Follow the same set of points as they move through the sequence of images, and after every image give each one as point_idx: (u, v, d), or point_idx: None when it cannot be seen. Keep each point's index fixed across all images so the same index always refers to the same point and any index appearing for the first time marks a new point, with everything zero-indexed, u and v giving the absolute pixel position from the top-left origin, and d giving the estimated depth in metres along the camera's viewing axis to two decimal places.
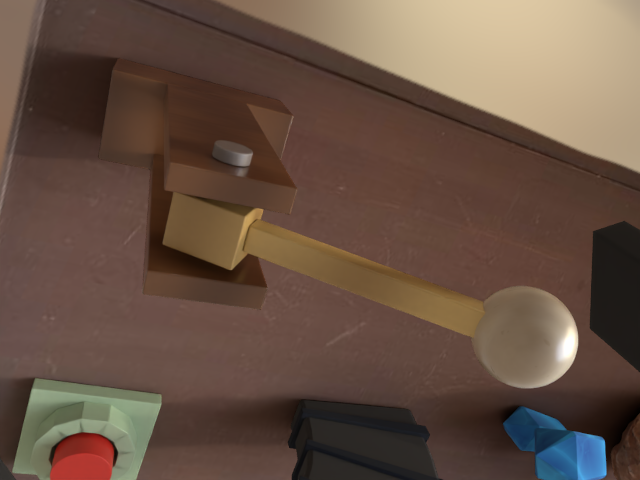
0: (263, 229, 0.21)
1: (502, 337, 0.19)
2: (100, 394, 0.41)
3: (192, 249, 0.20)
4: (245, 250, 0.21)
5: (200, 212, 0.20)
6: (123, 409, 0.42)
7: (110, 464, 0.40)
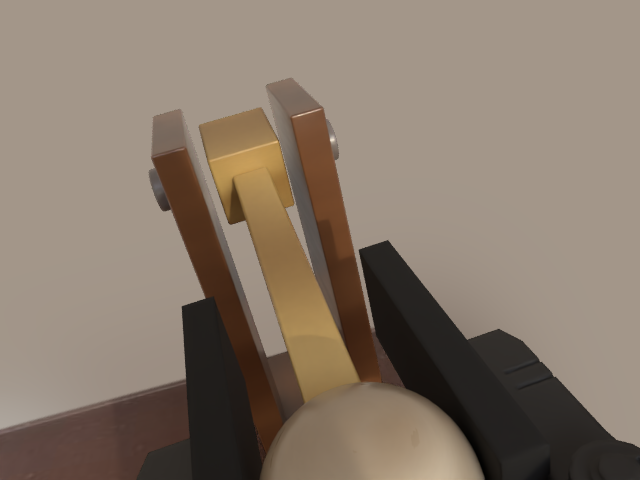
0: (271, 178, 0.17)
1: (356, 387, 0.09)
2: None
3: (210, 135, 0.18)
4: (235, 177, 0.17)
5: (254, 123, 0.18)
6: None
7: None
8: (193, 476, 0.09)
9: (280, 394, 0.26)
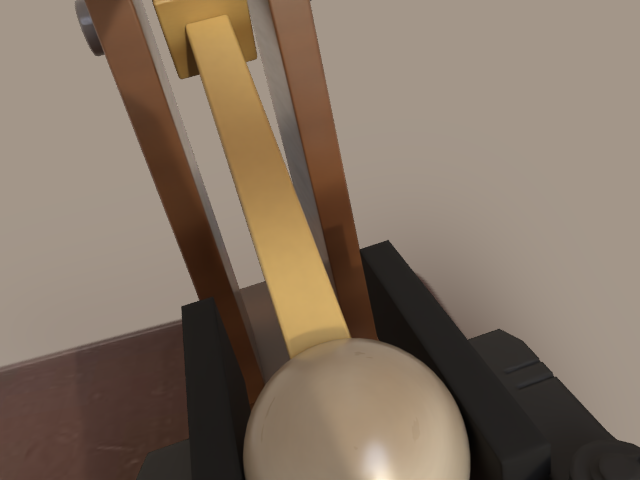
0: (233, 31, 0.14)
1: (351, 358, 0.08)
2: None
3: None
4: (189, 26, 0.14)
5: None
6: None
7: None
8: (192, 476, 0.09)
9: (252, 323, 0.22)
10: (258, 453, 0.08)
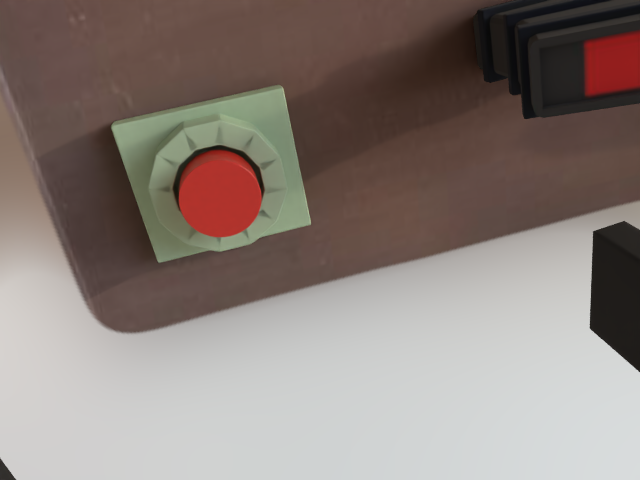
0: None
1: None
2: (199, 105, 0.29)
3: None
4: None
5: None
6: (238, 115, 0.29)
7: (250, 171, 0.27)
8: None
9: None
10: None
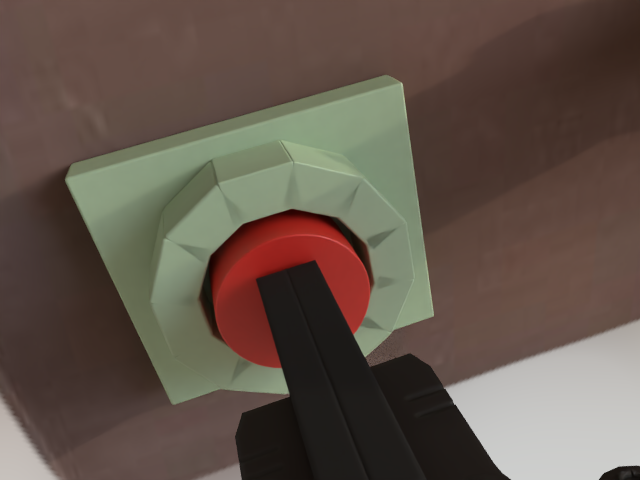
0: None
1: None
2: (240, 125, 0.15)
3: None
4: None
5: None
6: (316, 140, 0.15)
7: (350, 248, 0.14)
8: (301, 429, 0.09)
9: None
10: None
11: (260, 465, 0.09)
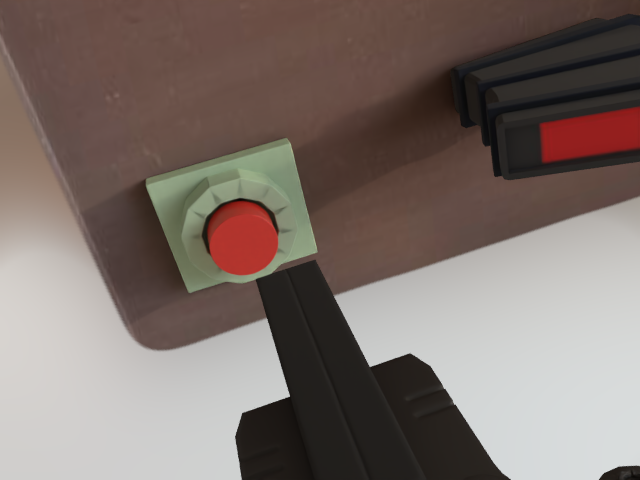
0: None
1: None
2: (219, 162, 0.34)
3: None
4: None
5: None
6: (253, 168, 0.34)
7: (268, 221, 0.33)
8: (301, 429, 0.09)
9: None
10: None
11: (260, 465, 0.09)
